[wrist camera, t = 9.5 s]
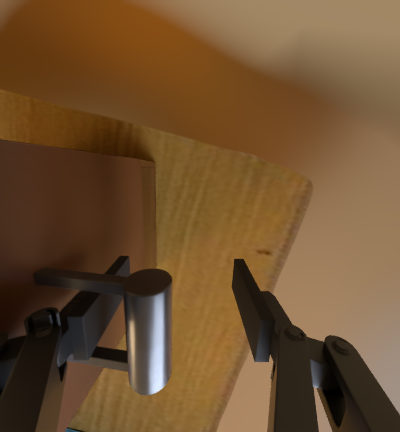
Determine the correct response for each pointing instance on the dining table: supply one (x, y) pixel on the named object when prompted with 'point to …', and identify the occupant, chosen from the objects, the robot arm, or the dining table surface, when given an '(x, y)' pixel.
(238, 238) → the dining table surface
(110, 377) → the dining table surface
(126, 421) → the dining table surface
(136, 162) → the brown wooden lid
